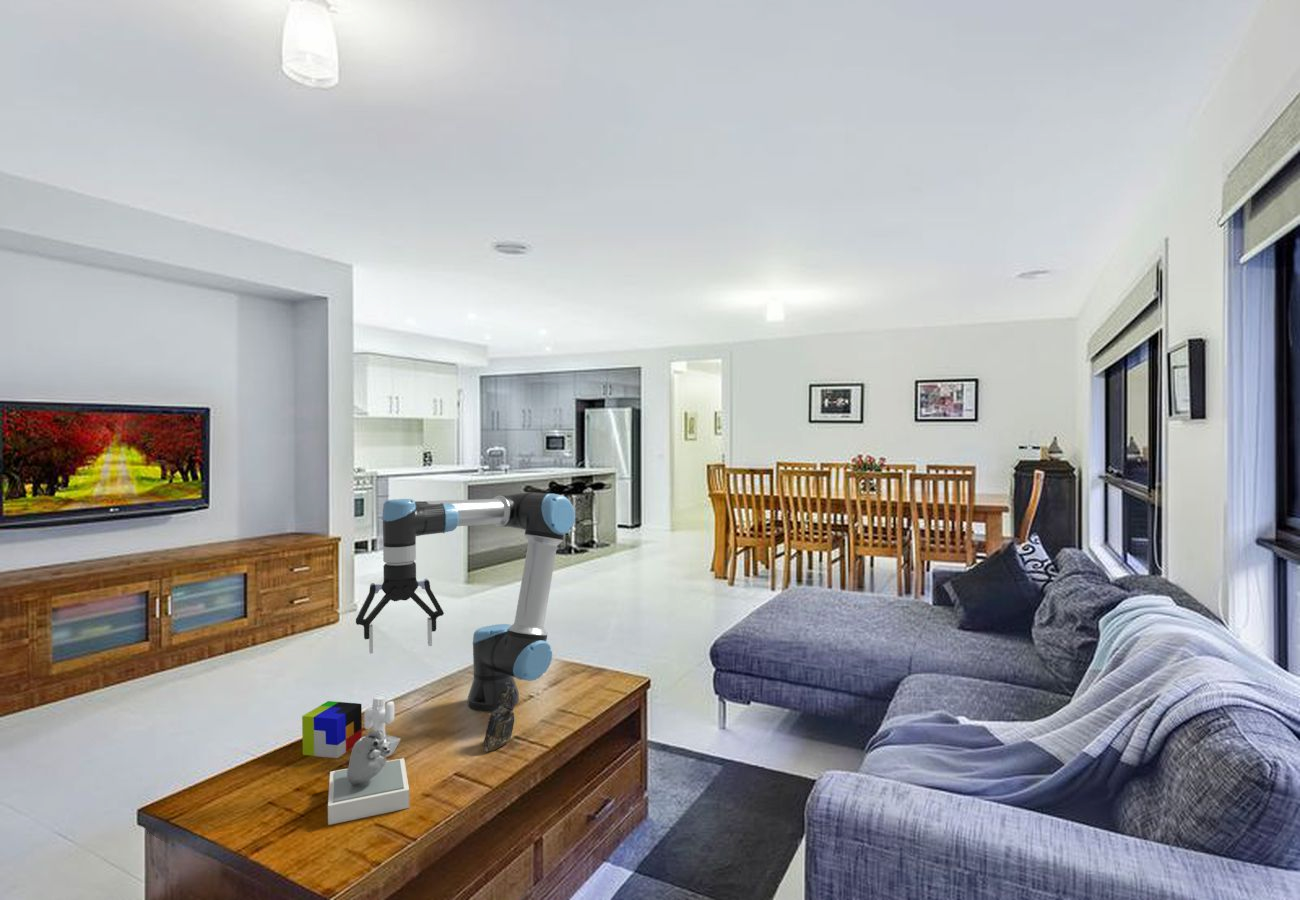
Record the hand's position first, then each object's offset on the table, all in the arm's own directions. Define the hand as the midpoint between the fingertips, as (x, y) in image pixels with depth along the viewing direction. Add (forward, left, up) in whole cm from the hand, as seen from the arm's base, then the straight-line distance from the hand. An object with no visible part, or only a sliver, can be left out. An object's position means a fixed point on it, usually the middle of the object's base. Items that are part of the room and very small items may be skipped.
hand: (400, 648), depth 168 cm
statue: (-24, -1, -29) cm, 38 cm away
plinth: (+8, +14, -29) cm, 33 cm away
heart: (+9, +14, -25) cm, 30 cm away
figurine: (+5, -7, -29) cm, 30 cm away
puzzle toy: (+16, -17, -29) cm, 37 cm away
